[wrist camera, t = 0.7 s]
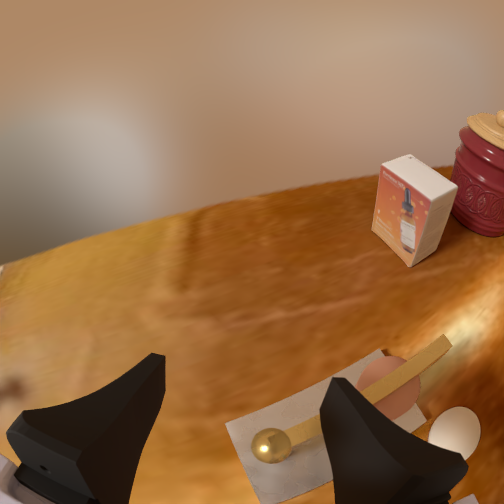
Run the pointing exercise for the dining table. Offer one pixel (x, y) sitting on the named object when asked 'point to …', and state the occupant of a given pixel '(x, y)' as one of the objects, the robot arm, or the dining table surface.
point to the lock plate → (307, 454)
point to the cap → (399, 399)
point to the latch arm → (281, 442)
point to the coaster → (456, 431)
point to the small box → (412, 207)
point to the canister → (480, 175)
